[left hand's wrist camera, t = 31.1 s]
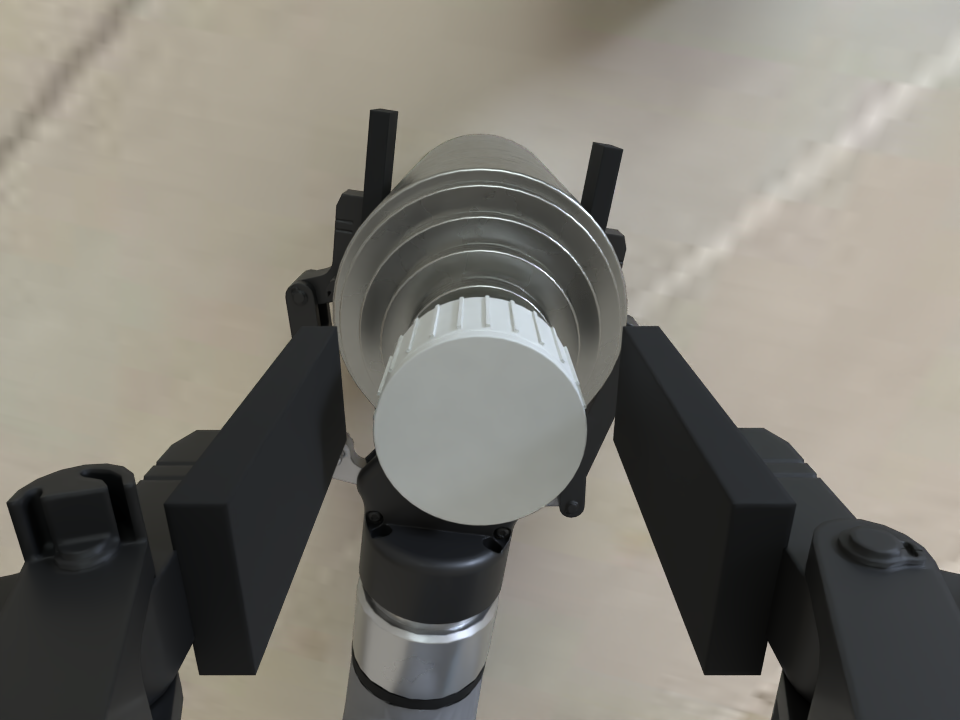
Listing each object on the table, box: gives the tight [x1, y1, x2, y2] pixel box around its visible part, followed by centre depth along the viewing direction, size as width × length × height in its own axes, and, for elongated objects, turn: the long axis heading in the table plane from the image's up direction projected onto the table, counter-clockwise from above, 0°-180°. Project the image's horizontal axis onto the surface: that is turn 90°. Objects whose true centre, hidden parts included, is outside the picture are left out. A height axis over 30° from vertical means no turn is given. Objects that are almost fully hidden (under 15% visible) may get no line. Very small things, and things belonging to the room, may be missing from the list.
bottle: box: [333, 134, 627, 408], centre depth 23 cm, size 8×8×22 cm
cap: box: [373, 295, 587, 525], centre depth 13 cm, size 4×4×2 cm
